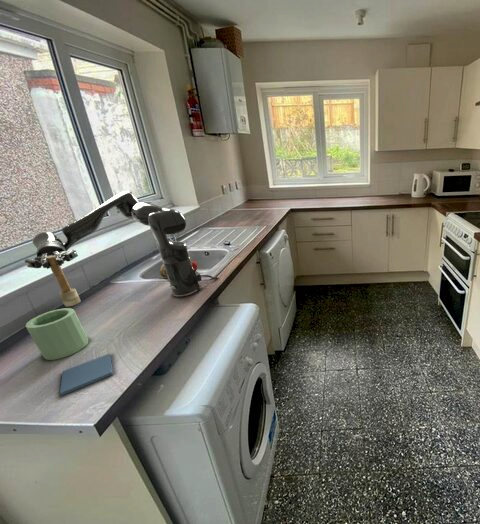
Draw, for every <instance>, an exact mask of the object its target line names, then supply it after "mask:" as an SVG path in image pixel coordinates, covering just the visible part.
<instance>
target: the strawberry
mask: <svg viewBox="0 0 480 524" xmlns="http://www.w3.org/2000/svg"><path fill="white" fill-rule="evenodd" d="M191 263H192V266H193V268H194V269H195V272H196V271H197V270H198V263H197V262H196V261H194V260H193V259H191Z"/></svg>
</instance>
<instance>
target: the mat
mask: <svg viewBox="0 0 480 524" xmlns="http://www.w3.org/2000/svg"><path fill="white" fill-rule="evenodd" d="M61 374H62V376H61V383H60V390H59V395H60V396H64V395H66V394H67V395H68V394H69V393H72V392H74V391H76V390H79V389H81V388H83V387H86V386H88V385H91V384H94V383H96V382H98V381H101V380H103V379H106V378H107V377H110V376H113V374H114V373H113V364H112V355H111V353H107V354H105V355H102V356H100V357H96V358H94V359H92V360H89V361H86V362H83V363H81V364H79V365H76V366H73V367H71V368H68V369H65V370H63V371H62V373H61Z"/></svg>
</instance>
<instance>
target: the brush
mask: <svg viewBox="0 0 480 524" xmlns="http://www.w3.org/2000/svg"><path fill="white" fill-rule="evenodd" d="M46 260H47V262H48V264H49V266H50V268H49V269H50V270H51V272H52V274H53V277H54V278H55V280H56V282H57V284H58V286H59V289H60V291H59V292H58V295H59V298H60V299H61V301H62V303H63V305H64V307H73V306H76V305H78V304H80V303H81V302H82V300H81V297H80V295H79V293H78V292H77V290H76V288H75V287H72V288H71V285H70V284H69V282H68V279H67V277H66V275H65V273H64V271H63V269H62V267H61V266H59V264H58V262H57V260H56V256H48V257H46Z"/></svg>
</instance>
